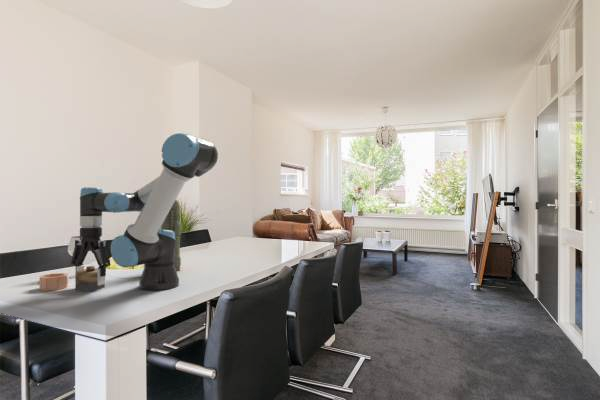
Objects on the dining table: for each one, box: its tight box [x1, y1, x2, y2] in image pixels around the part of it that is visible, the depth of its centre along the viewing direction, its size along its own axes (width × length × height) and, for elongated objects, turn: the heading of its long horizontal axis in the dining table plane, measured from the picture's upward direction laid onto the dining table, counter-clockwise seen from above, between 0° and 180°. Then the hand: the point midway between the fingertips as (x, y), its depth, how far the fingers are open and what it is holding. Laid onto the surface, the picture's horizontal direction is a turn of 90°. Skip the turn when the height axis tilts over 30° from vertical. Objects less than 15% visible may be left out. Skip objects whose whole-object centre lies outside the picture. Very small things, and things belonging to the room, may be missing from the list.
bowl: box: [39, 272, 69, 292], centre depth 140 cm, size 9×9×5 cm
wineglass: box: [67, 235, 82, 279], centre depth 161 cm, size 8×8×18 cm
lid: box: [74, 265, 98, 284], centre depth 140 cm, size 10×10×6 cm
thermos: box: [161, 199, 182, 273], centre depth 177 cm, size 9×12×35 cm
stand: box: [74, 283, 106, 293], centre depth 140 cm, size 7×7×3 cm
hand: (90, 283), depth 140 cm, fingers closed on lid, 10 cm apart
